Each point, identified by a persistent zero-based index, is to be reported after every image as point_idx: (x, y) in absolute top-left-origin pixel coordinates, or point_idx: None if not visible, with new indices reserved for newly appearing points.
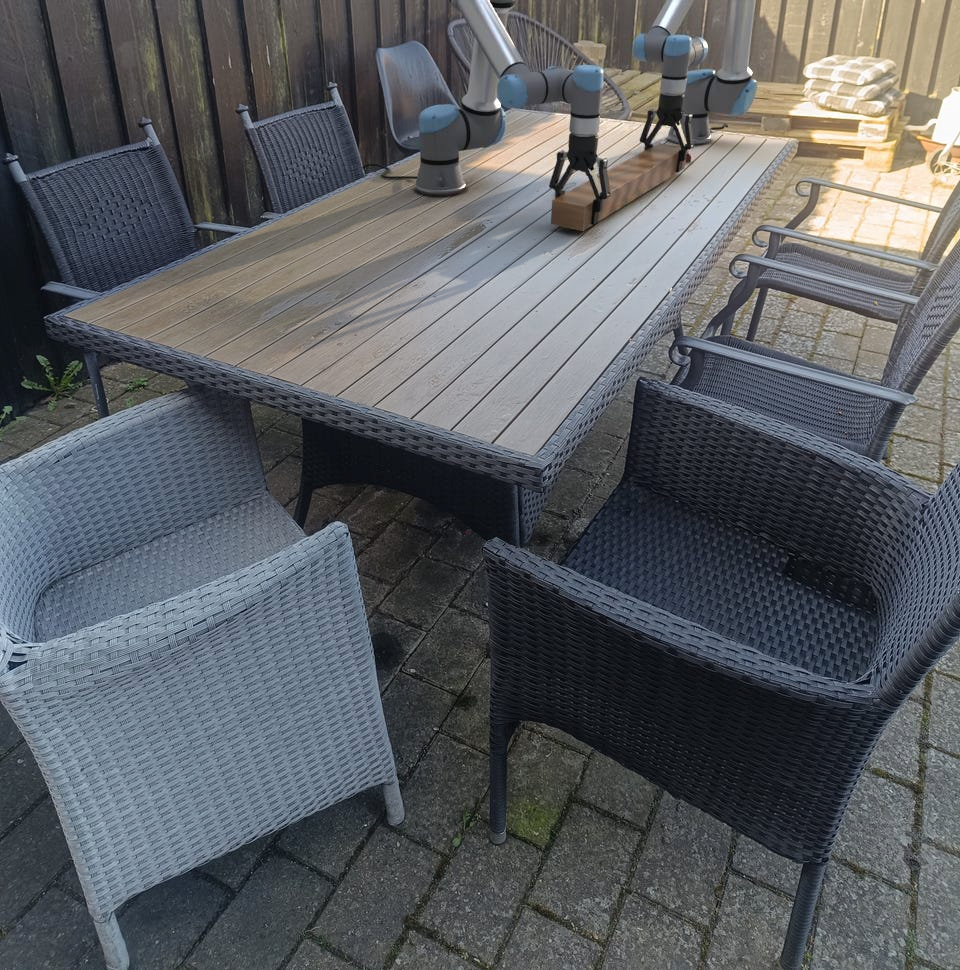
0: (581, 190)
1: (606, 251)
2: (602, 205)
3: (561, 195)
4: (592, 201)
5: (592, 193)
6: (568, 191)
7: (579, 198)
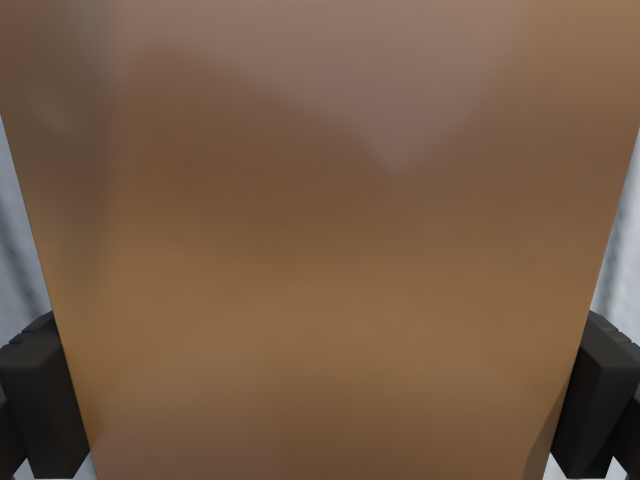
0: (166, 85)
1: (620, 467)
2: (632, 345)
3: (93, 438)
4: (540, 443)
5: (413, 135)
6: (39, 253)
7: (345, 429)
